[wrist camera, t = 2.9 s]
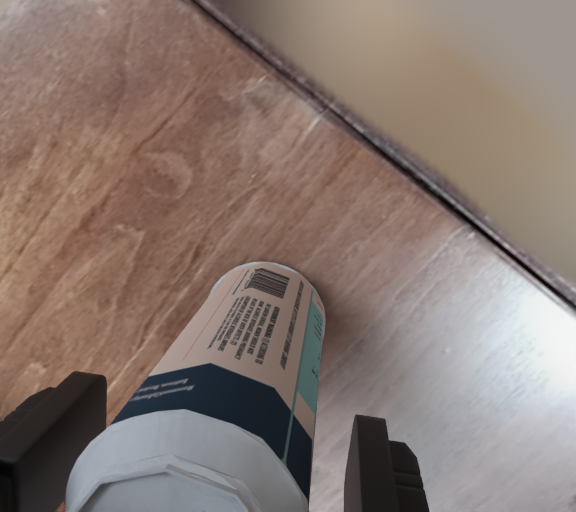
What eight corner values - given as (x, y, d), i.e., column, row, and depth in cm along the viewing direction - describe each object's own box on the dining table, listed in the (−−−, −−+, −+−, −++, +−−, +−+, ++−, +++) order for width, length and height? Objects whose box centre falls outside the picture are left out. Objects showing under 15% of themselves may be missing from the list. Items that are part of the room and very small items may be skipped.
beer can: (184, 297, 20) (-19, 521, 9) (281, 234, 19) (195, 395, 8) (252, 390, 21) (146, 708, 10) (349, 334, 20) (362, 615, 9)
